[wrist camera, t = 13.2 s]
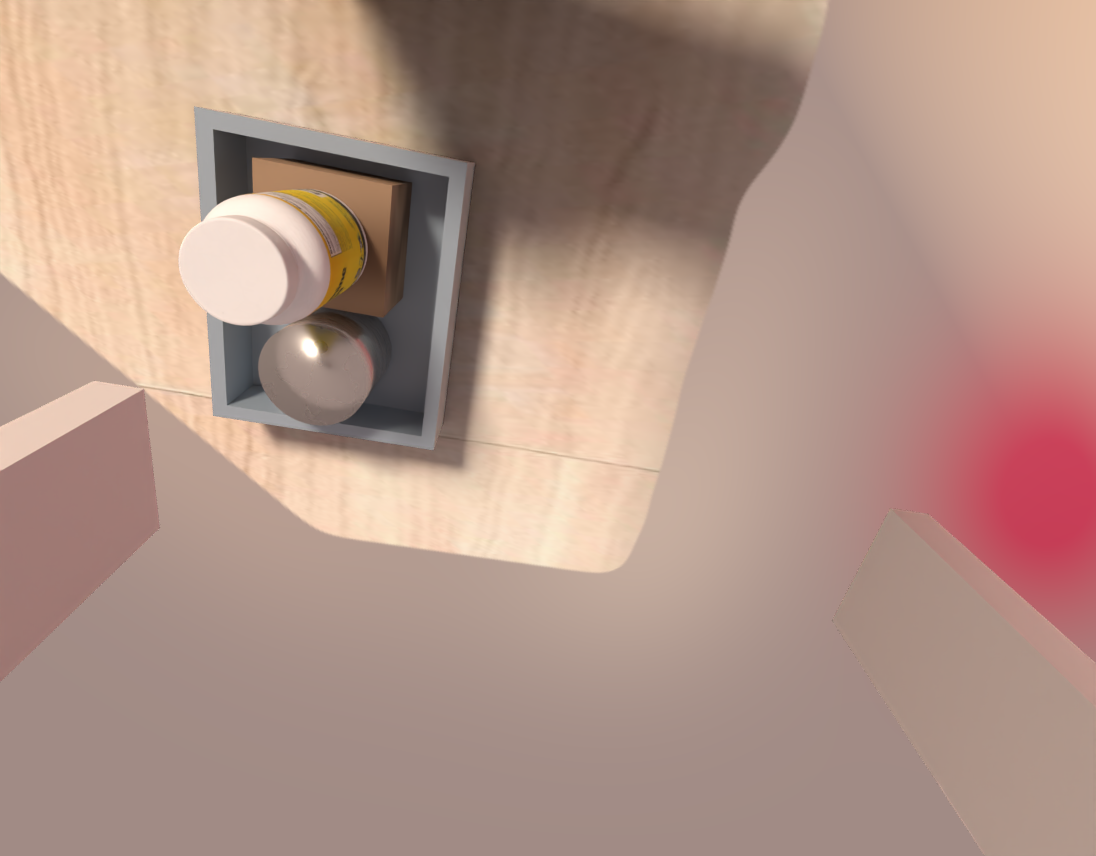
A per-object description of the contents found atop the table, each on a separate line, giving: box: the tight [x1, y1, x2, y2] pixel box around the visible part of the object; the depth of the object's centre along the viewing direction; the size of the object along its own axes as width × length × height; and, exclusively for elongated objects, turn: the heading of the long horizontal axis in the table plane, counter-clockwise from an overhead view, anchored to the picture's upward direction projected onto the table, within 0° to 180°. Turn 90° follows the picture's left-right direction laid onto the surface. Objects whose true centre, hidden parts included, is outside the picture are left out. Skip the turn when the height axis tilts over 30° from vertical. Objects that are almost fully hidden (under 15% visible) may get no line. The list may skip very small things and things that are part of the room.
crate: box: [194, 107, 475, 450], centre depth 40 cm, size 20×16×5 cm
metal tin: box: [258, 307, 392, 426], centre depth 41 cm, size 7×7×7 cm
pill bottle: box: [179, 189, 368, 326], centre depth 30 cm, size 6×6×11 cm
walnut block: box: [252, 158, 412, 318], centre depth 37 cm, size 8×8×6 cm
